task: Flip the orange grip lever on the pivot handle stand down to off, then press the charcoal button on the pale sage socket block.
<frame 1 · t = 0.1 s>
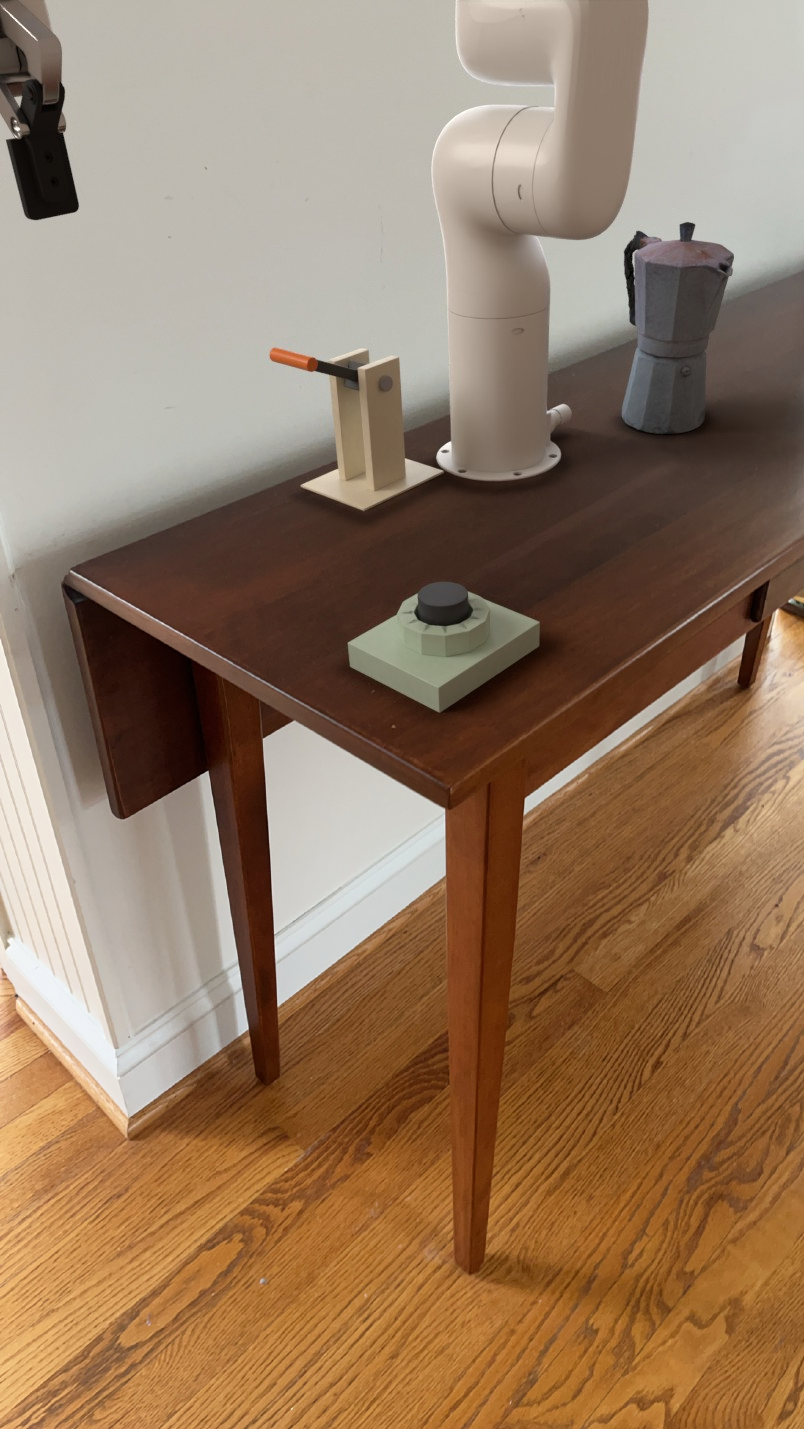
hand: (11, 208, 61), 31 cm above the table, tool pointing down, fingers open, 9 cm apart
orange grip lever: (333, 370, 91), point 13 cm above the table, hinge at 25.0°
socket button: (443, 604, 73), point 5 cm above the table, slide at 0.2 cm
moka pot: (658, 421, 112), on the table
pivot handle stand: (373, 489, 101), on the table
socket block: (445, 657, 76), on the table
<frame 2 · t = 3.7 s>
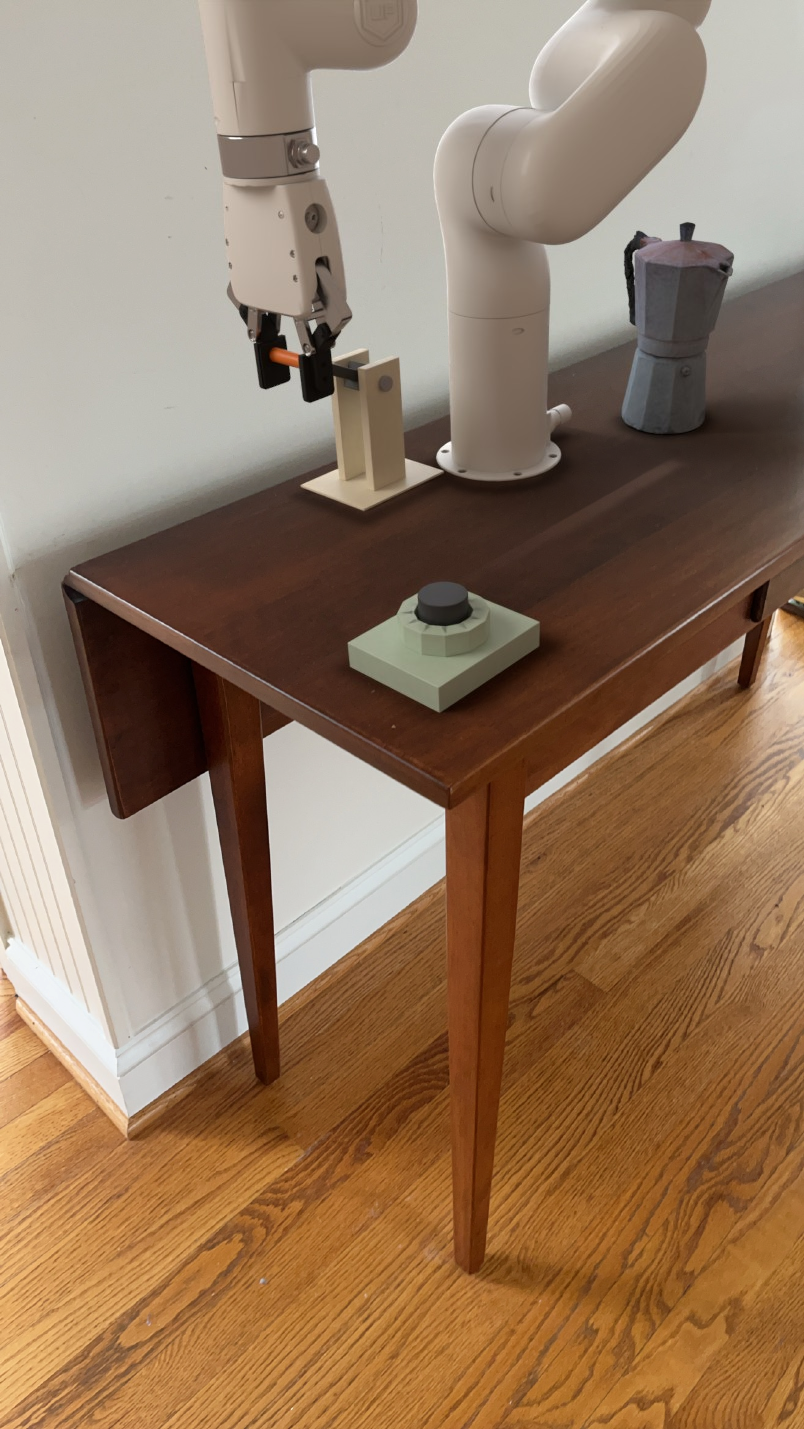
hand: (296, 389, 89), 12 cm above the table, tool pointing down, fingers closed on orange grip lever, 5 cm apart
orange grip lever: (333, 370, 91), point 13 cm above the table, hinge at 25.0°, touching gripper
everything else where it was.
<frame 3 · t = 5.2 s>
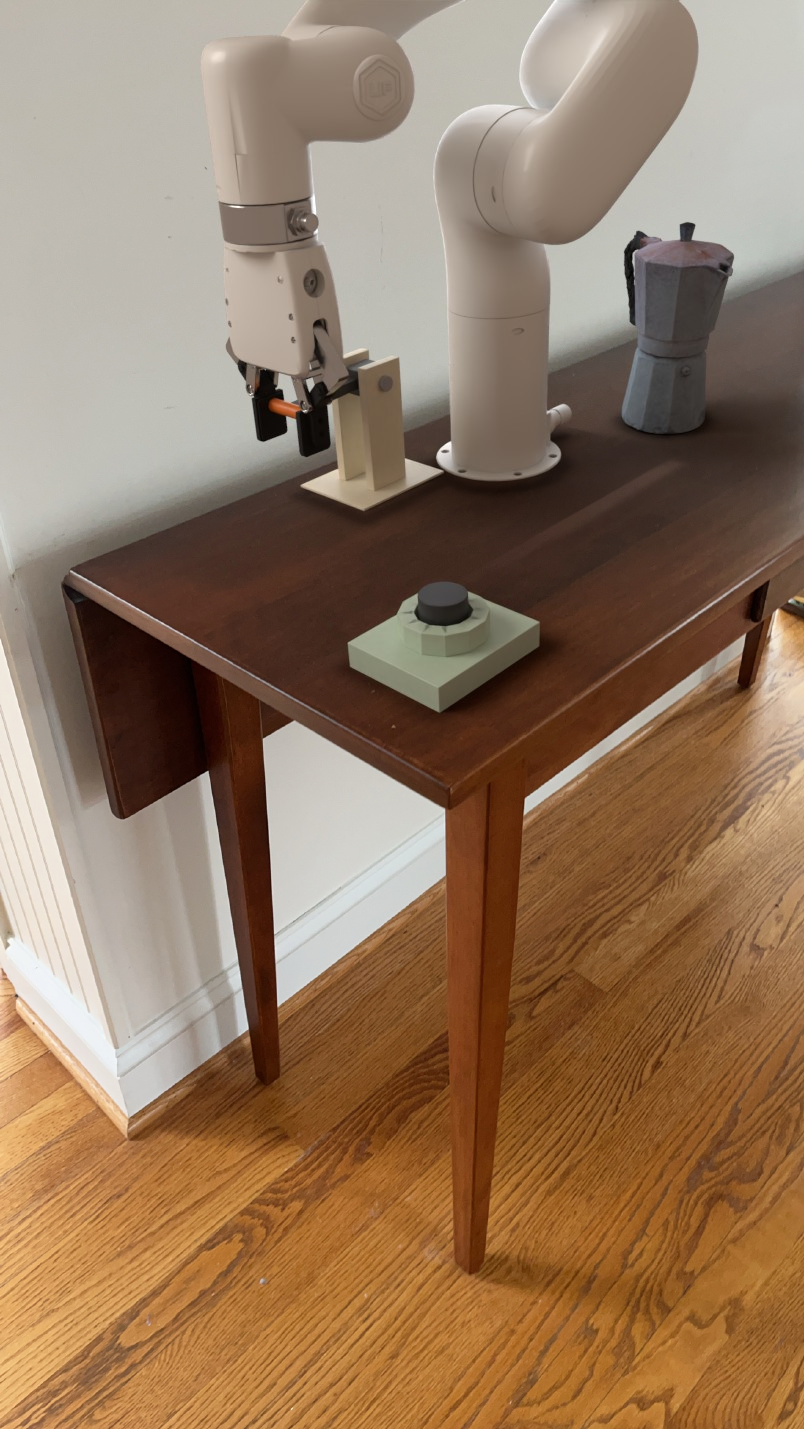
hand: (293, 442, 91), 8 cm above the table, tool pointing down, fingers closed on orange grip lever, 5 cm apart
orange grip lever: (332, 392, 92), point 11 cm above the table, hinge at -2.8°, touching gripper
everything else where it was.
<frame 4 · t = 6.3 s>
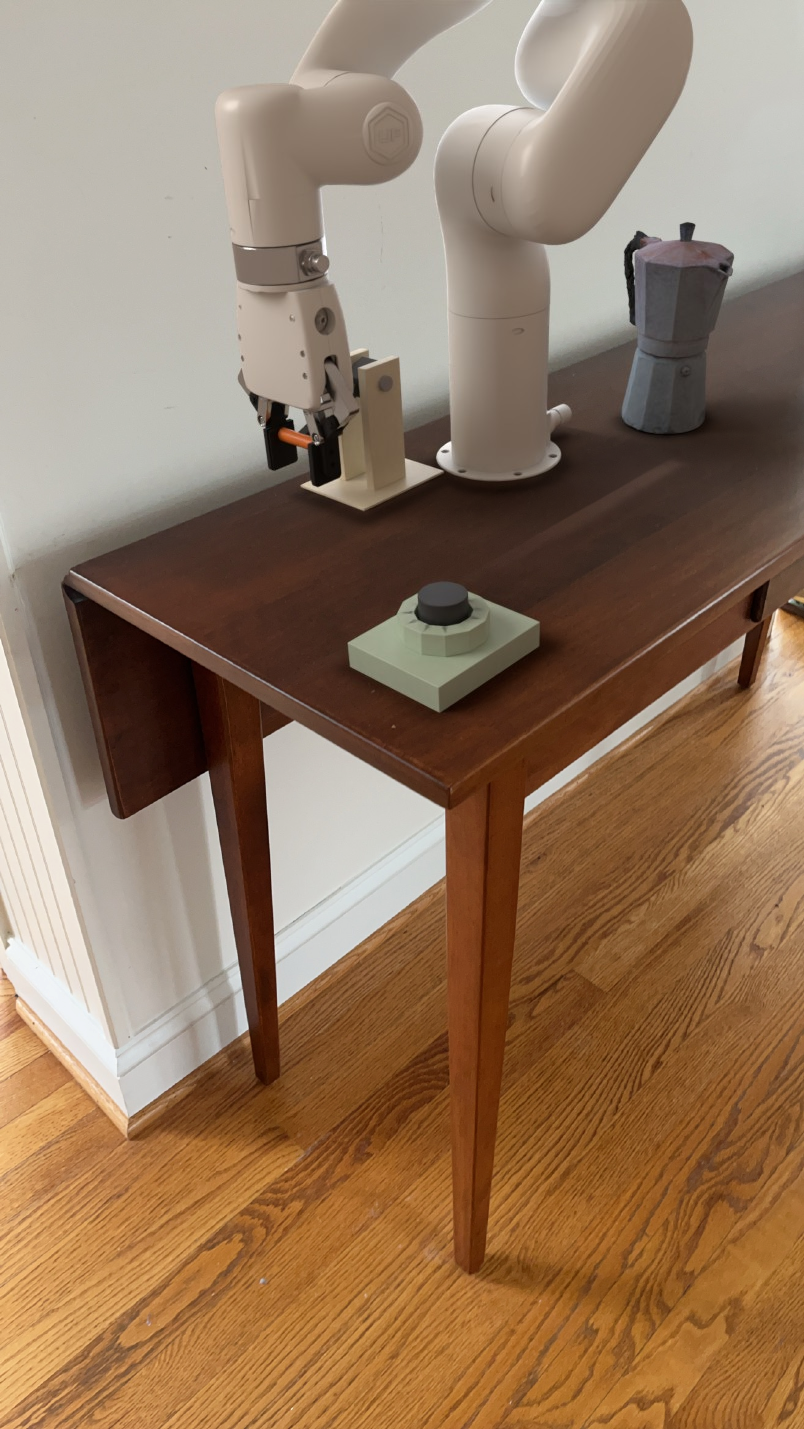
hand: (304, 471, 94), 5 cm above the table, tool pointing down, fingers open, 5 cm apart
orange grip lever: (336, 405, 93), point 9 cm above the table, hinge at -21.7°
everything else where it was.
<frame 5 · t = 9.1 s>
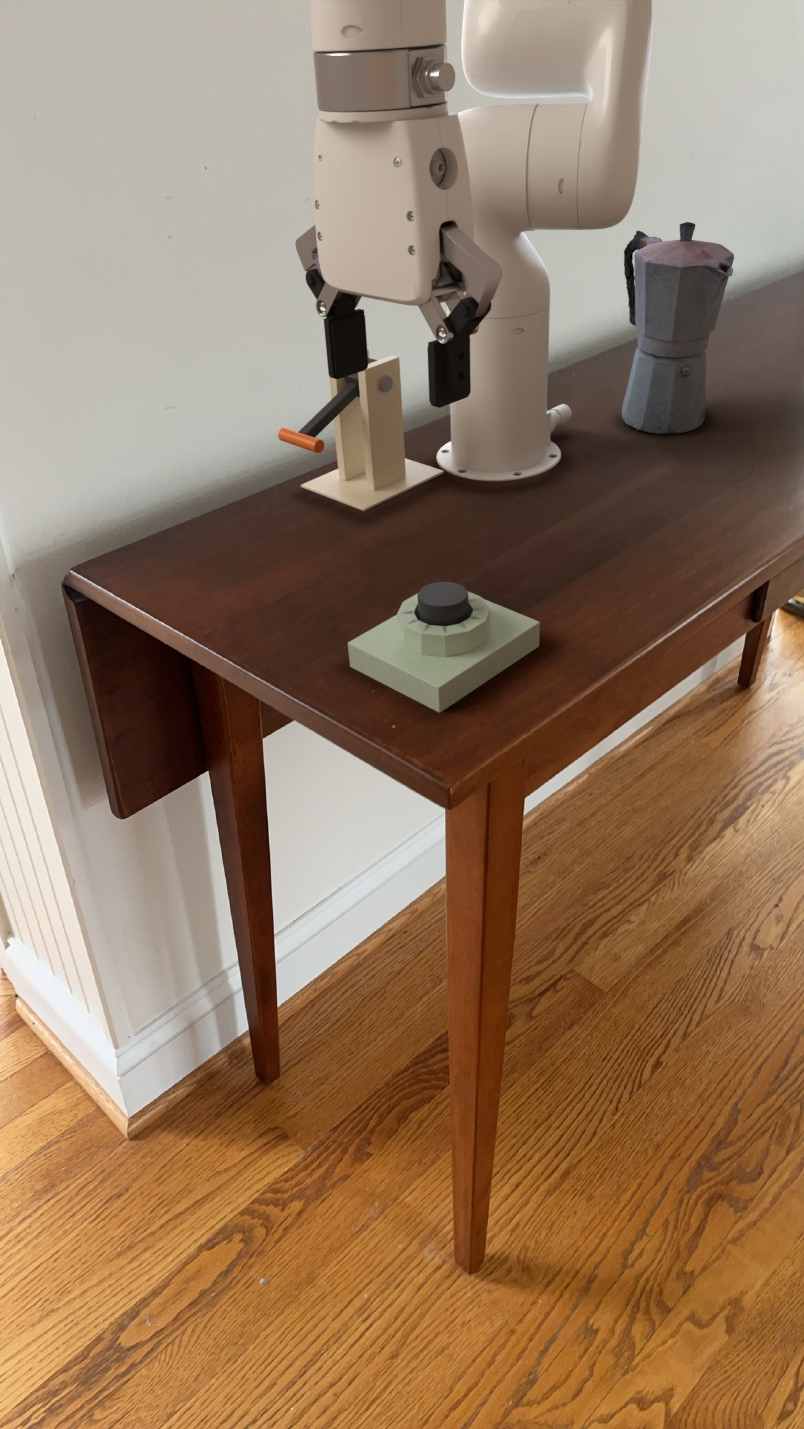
hand: (397, 387, 68), 19 cm above the table, tool pointing down, fingers open, 9 cm apart
nothing on the table moved.
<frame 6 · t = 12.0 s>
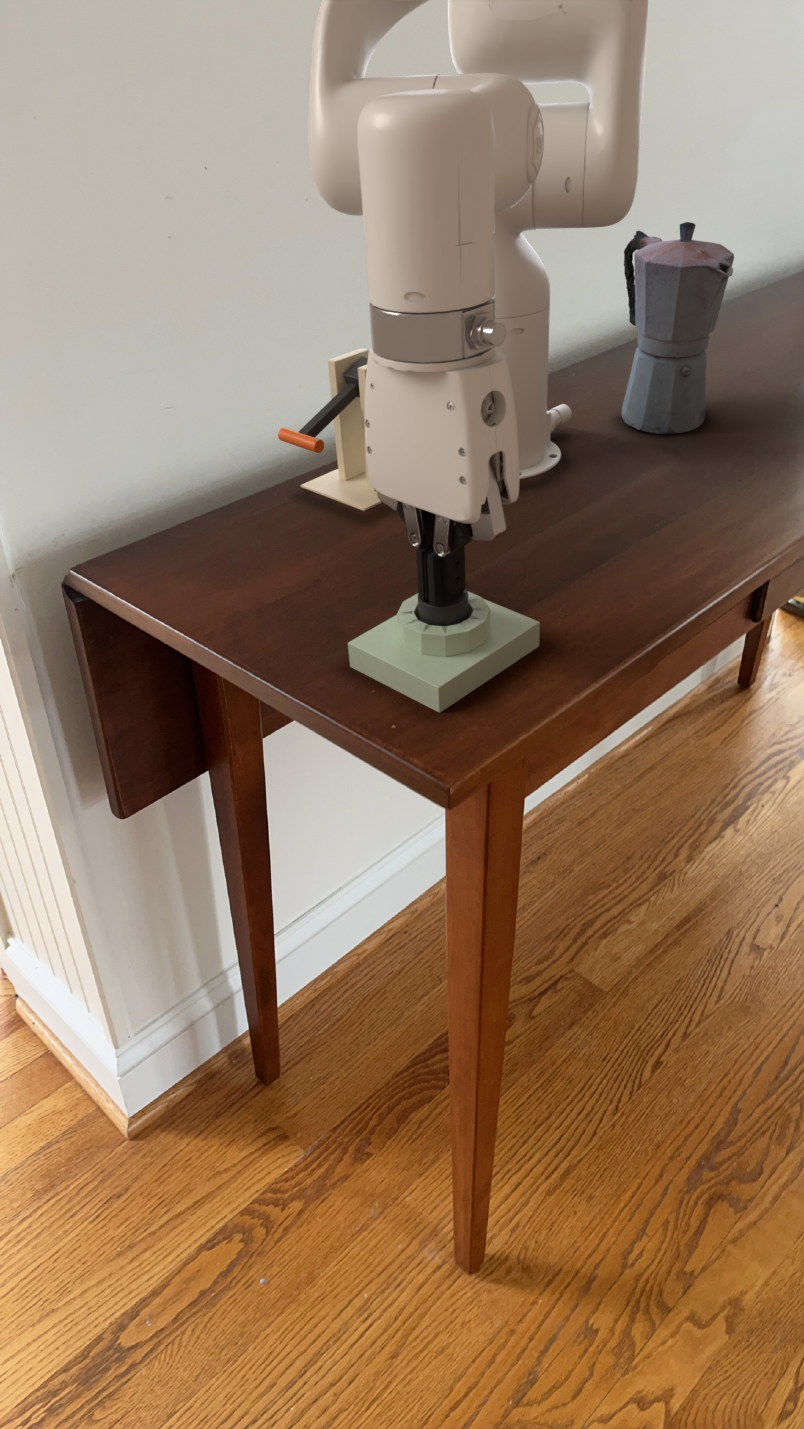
hand: (442, 595, 72), 5 cm above the table, tool pointing down, fingers closed
socket button: (443, 605, 73), point 4 cm above the table, slide at 0.1 cm, touching gripper
everything else where it was.
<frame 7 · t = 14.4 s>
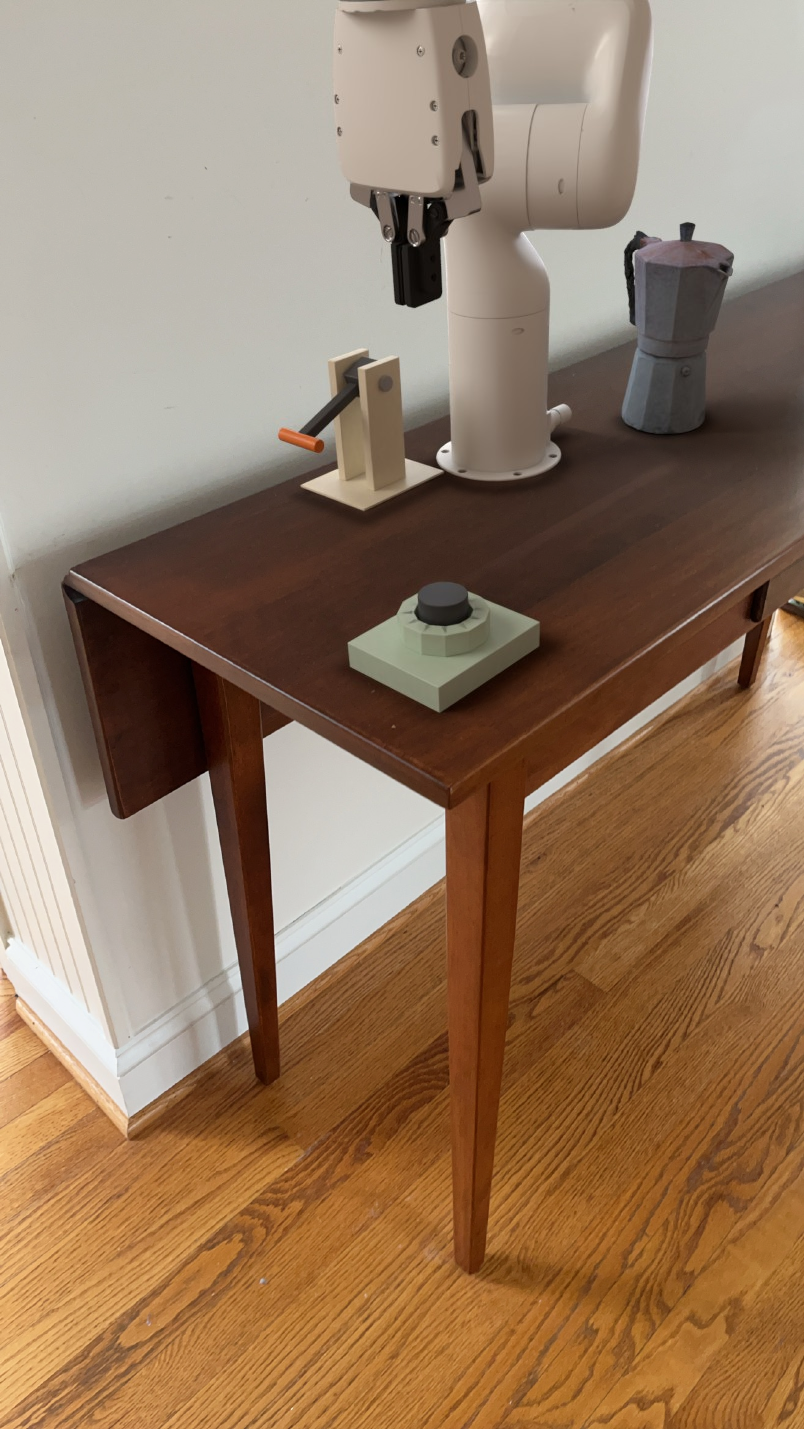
hand: (418, 300, 71), 23 cm above the table, tool pointing down, fingers closed
socket button: (443, 604, 73), point 5 cm above the table, slide at 0.2 cm
everything else where it was.
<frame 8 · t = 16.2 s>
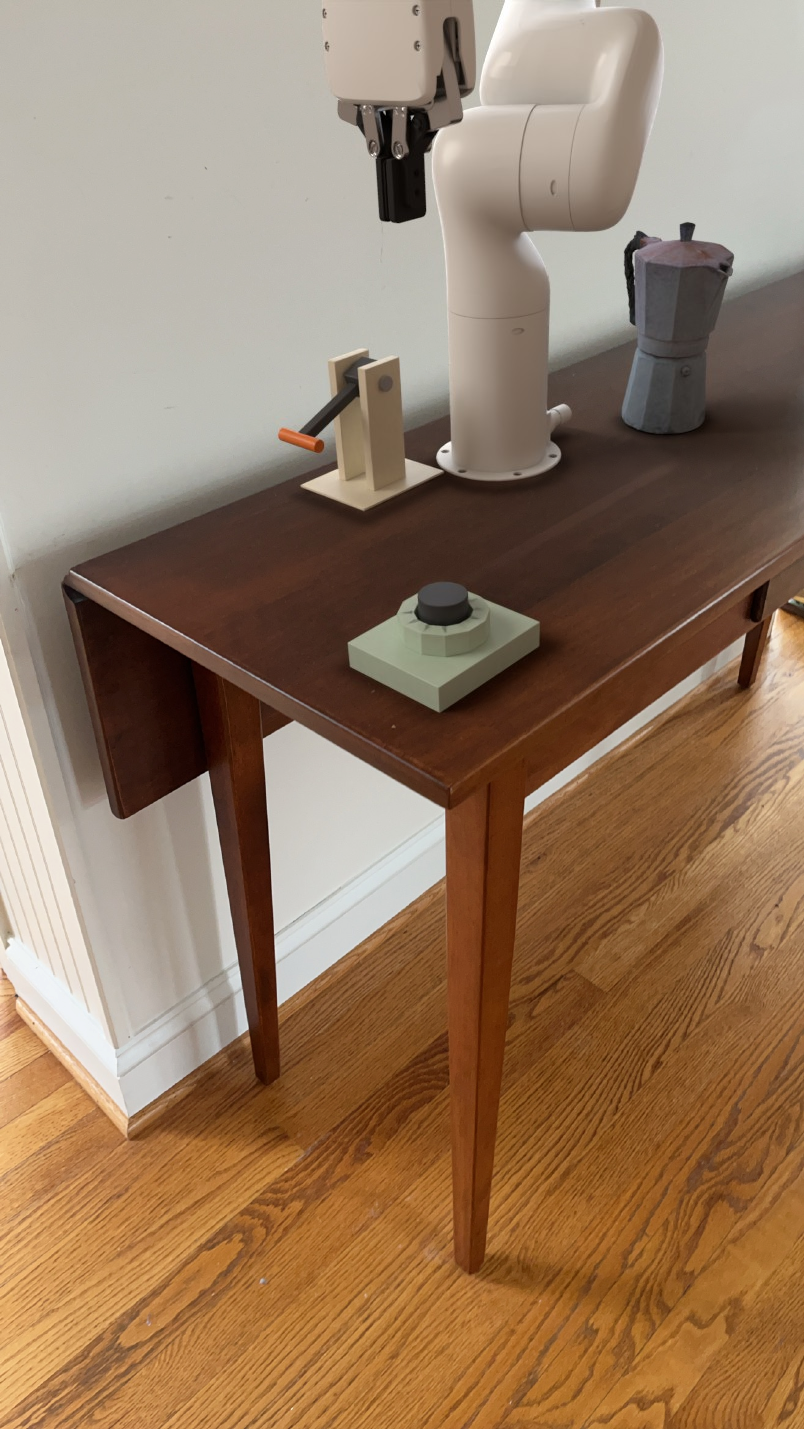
hand: (403, 218, 72), 27 cm above the table, tool pointing down, fingers closed
nothing on the table moved.
at the end: orange grip lever at -22° (first picture: +25°); socket button pushed in 1.1 cm at the most during the clip, back to 0.2 cm at the end; socket button slide at 0.2 cm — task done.
